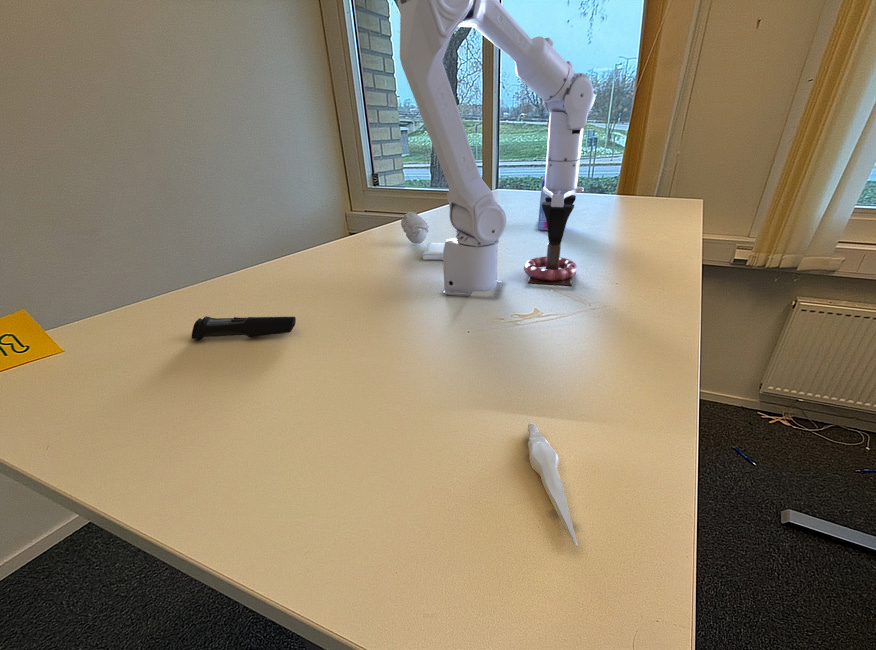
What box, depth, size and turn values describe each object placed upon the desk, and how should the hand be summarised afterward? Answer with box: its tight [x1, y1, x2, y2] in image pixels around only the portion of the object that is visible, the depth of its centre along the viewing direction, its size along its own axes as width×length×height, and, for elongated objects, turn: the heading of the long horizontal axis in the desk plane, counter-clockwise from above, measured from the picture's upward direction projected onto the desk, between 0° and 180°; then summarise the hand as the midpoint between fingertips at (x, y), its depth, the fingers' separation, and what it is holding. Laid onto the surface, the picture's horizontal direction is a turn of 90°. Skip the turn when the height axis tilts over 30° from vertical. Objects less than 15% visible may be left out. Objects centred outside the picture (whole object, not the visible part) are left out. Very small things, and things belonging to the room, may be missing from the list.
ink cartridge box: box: [537, 173, 548, 231], centre depth 114 cm, size 10×6×14 cm, turn 171°
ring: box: [523, 255, 578, 281], centre depth 84 cm, size 10×10×2 cm
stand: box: [527, 242, 574, 288], centre depth 82 cm, size 8×8×7 cm
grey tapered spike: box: [527, 422, 579, 547], centre depth 40 cm, size 15×3×2 cm, turn 7°
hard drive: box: [422, 242, 445, 261], centre depth 99 cm, size 2×8×12 cm
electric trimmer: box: [191, 315, 297, 341], centre depth 66 cm, size 4×16×3 cm, turn 91°
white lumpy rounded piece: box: [400, 211, 430, 245], centre depth 105 cm, size 6×7×7 cm
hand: (555, 239), depth 84 cm, fingers open, 4 cm apart
